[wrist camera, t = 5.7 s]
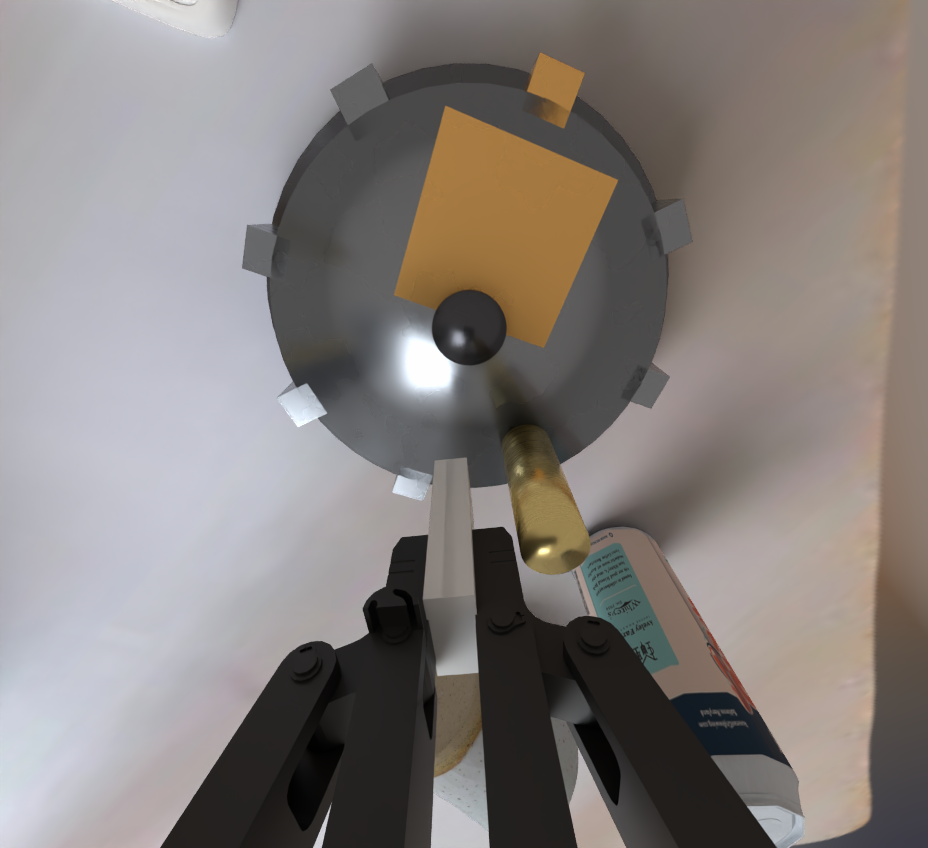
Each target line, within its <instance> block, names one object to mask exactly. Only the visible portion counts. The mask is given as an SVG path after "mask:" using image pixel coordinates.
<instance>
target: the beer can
mask: <svg viewBox="0 0 928 848" xmlns="http://www.w3.org/2000/svg"><path fill="white" fill-rule="evenodd" d="M590 541H591V549H590V552H589V555H588V557H587V558H586V559H585V561H584V562H583V563H582V564H581V565H579V566H578V567H577V568H575V569H573V570H571V571H572V573H573V576H574V578H575V580H576V581H577V584H578V587H579V590H580V593H581V596H582V599H583V602H584V606H585V609H586V612H587V615H588V616H594V617H599V618H602V619H604V620H606V621H608V622H610V623H612V624H613V625H614V626H615V627H616V628H617V629H618V630H619V631H620V633H621V634H622V635H623V637H624V638H625V640H626V641H627V642H628V644H629V645H630V646H631V648H632V649H633V650H634V652H635V653H636V655H637V656H638V657H639V659H640V660H641V661H642V663H643V664H644V666H645V667H646V668H647V670H648V671H649V672H650V674H651V675H652V677H653V678H654V679H655V681H656V682H657V683H658V685H659V686H660V688H661V689H662V690H663V692H664V693H665V694H666V696H667V697H668V699H669V700H670V701H671V703H672V704H673V705H674V707H675V708H676V710H677V711H678V712H679V714H680V715H681V716H682V718H683V719H684V720H685V722H686V723H687V725H688V726H689V727H690V729H691V730H692V731H693V733H694V734H695V736H696V737H697V738H698V740H699V741H700V742H701V744H702V745H703V747H704V748H705V749H706V751H707V752H708V753H709V755H710V756H711V758H712V759H713V760H714V762H715V763H716V764H717V766H718V767H719V769H720V770H721V771H722V773H723V774H724V775H725V777H726V778H727V780H728V781H729V782H730V784H731V785H732V786H733V788H734V789H735V790H736V792H737V793H738V795H739V796H740V797H741V799H742V800H743V801H744V803H745V804H746V806H747V807H748V808H749V810H750V811H751V812H752V814H753V815H754V817H755V818H756V819H757V821H758V822H759V823H760V825H761V826H762V828H763V829H764V830H765V832H766V833H767V834H768V836H769V837H770V839H771V840H772V841H773V843H774V844H775V845H776V847H777V848H789V847H790V846H792V845H793V844H795V843H796V842H797V841H799V840H800V839H801V838H803V837H804V823H805V817H804V816H803V813H802V810H801V805H800V799H799V792H798V784H799V781H798V778H797V776H796V774H795V772H794V771H793V769H792V767H791V765H790V764H789V762H788V760H787V759H786V757H785V755H784V754H783V752H782V750H781V749H780V747H779V746H778V744H777V742H776V741H775V739H774V737H773V736H772V734H771V732H770V731H769V729H768V727H767V726H766V724H765V722H764V721H763V719H762V717H761V716H760V714H759V712H758V711H757V709H756V707H755V706H754V704H753V702H752V701H751V699H750V697H749V696H748V694H747V692H746V691H745V689H744V687H743V686H742V684H741V682H740V681H739V679H738V677H737V676H736V674H735V672H734V671H733V669H732V667H731V666H730V664H729V662H728V661H727V659H726V658H725V656H724V654H723V653H722V651H721V649H720V648H719V646H718V644H717V643H716V641H715V639H714V638H713V636H712V634H711V633H710V631H709V629H708V628H707V626H706V624H705V623H704V621H703V619H702V618H701V616H700V614H699V613H698V611H697V609H696V608H695V606H694V604H693V603H692V601H691V599H690V598H689V596H688V594H687V593H686V591H685V589H684V588H683V586H682V584H681V583H680V581H679V579H678V578H677V576H676V574H675V573H674V571H673V569H672V568H671V566H670V565H669V563H668V561H667V560H666V558H665V556H664V555H663V553H662V551H661V550H660V548H659V546H658V545H657V543H656V541H655V540H654V539H653V538H652V537H651V536H650V535H648V534H647V533H645V532H643V531H641V530H638V529H636V528H630V527H614V528H607V529H604V530H601V531H598V532H597V533H595V534H593V535H591V536H590Z"/></svg>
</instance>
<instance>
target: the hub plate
mask: <svg viewBox="0 0 928 848" xmlns="http://www.w3.org/2000/svg"><path fill="white" fill-rule="evenodd" d="M528 77H529V73H526V72H524V71H521V70H518V69H512V68H506V67H501V66H495V65H490V64H449V65H442V66H436V67H429V68H423V69H420V70H417V71H414V72H411V73H408V74H405V75H402V76H399V77H396V78H393V79H390V80H388V81H387V82H385V83H384V86H385V88H386V90H387V92H388V95H389V97H390V99H393V98H395V97H397V96H401V95H404V94H407V93H410V92H413V91H416V90H419V89H422V88H426V87H432V86H439V85H446V84H453V83H489V84H495V85H500V86H506V87H511V88H517V89H521V90H524V89H525V86H526V83H527V80H528ZM571 112H573V113H575V114H577V115H578V116H579V117H581V118H582V119H583V120H584V121H586V122H587V123H588V124H590V125H591V126H592V127H593V128H595V129H596V130H597V131H599V132H600V133H601V134H602V135H603V136H604V137H605V138H606V139H607V140H608V141H609V142H610V143H611V144H612V146H613V147H614V148H615V149H616V150H617V151H618V152H619V153H620V154H621V155H622V156H623V158H624V159H625V161H626V162H627V164H628V165H629V167H630V168H631V169H632V171H633V172H634V174H635V175H636V177H637V178H638V180H639V181H640V183H641V185H642V187H643V189H644V191H645V193H646V195H647V198H648V200H649V202H650V204H652V203H654V202H656V198H655V195H654V192H653V189H652V187H651V185H650V183H649V181H648V179H647V177H646V175H645V173H644V171H643V169H642V167H641V165H640V163H639V161H638V160H637V158H636V157H635V155H634V154H633V153H632V151H631V150H630V148H629V147H628V145H627V144H626V142H625V141H624V140H623V138H622V137H621V136H620V135H619V134H618V133H617V132H616V130H615V129H614V128H613V127H612V126H611V125H610V124H609V123H608V122H607V121H606V120H605V119H604V118H603V117H602V116H601V115H600V114H599V113H598V112H596V111H595V110H594V109H593V108H591V107H590V106H589V105H588V104H586V103H585V102H584V101H582V100H581V99H580V98H579V97H577V96H576V98H575V101H574V104H573V106H572V109H571ZM346 126H348V125H347V123H346V121H345V119H344V117H343V115H342V113H341V111H339V112H338V113H337V114H336V115H335V116H334V117H333V118H332V119H331V120H330V121H329V122H328V123H327V124H326V125H325V126H324V127H323V128H322V129H321V130H320V131H319V132H318V133H317V134H316V136H315V137H314V138H313V140H312V141H311V143H310V144H309V145H308V147H307V148H306V149H305V151H304V152H303V154H302V155H301V156H300V158H299V159H298V161H297V163H296V165H295V167H294V168H293V170H292V172H291V174H290V176H289V178H288V180H287V182H286V184H285V186H284V188H283V191H282V194H281V196H280V199H279V202H278V205H277V208H276V211H275V214H274V217H273V222H272V224H273V225H276V226H279V225H280V222H281V219H282V217H283V214H284V211H285V209H286V206H287V203H288V201H289V199H290V197H291V195H292V193H293V192H294V190H295V188H296V186H297V184H298V182H299V180H300V179H301V177H302V175H303V174H304V172H305V171H306V170H307V168H308V167H309V166H310V164H311V163H312V162H313V160H314V159H315V158H316V156H317V155H318V154H319V152H320V151H321V150H322V149H323V148H324V147H325V146H326V145H327V144H328V143H329V142H330V141H331V140H332V139H333V138H334V137H335V136H336V135H337V134H338V133H339V132H340V131H341V130H342V129H344V128H345V127H346ZM665 260H666V278H667V285H668V255H667V254H665ZM267 292H268V302H269V307H270V313H271V318H272V323H273V317H272V312H271V296H270V277H267ZM666 297H667V293H666ZM273 327H274V323H273ZM274 330H275V328H274Z"/></svg>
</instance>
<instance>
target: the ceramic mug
mask: <svg viewBox="0 0 928 848" xmlns="http://www.w3.org/2000/svg"><path fill="white" fill-rule="evenodd" d="M435 686H436V692H437V721H436V742H435V764H434V786H433V793H435V794H436V795H438V796H439V797H441V798H442V799H444V800H446V801H447V802H449V803H450V804H452V805H453V806H455V807H456V808H458V809H459V810H460V811H462V812H463V813H464V814H466V815H467V816H468V817H470V818H471V819H472V820H474V821H475V822H476V823H478V824H479V825H480V826H482V827H483V828H485V829H486V830H487V831H489V828H488V812H487V797H486V781H485V766H484V750H483V735H482V719H481V704H480V688H479V673H470V674H458V675H444V676H437V671H436V673H435ZM551 722H552V727H553V731H554V736H555V741H556V746H557V751H558V756H559V761H560V765H561V770H562V775H563V780H564V785H565V790H566V795H567V799H568V804H569V803H570V801H571V798H572V795H573V791H574V788H575V784H576V779H577V773H578V747H577V744H576V742H575V739H574V737H573V735H572V733H571V731H570V729H569V727H568V725H567V723H566V721H563V720H560V719H556V718H552V717H551Z"/></svg>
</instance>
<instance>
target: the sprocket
mask: <svg viewBox="0 0 928 848" xmlns="http://www.w3.org/2000/svg"><path fill="white" fill-rule="evenodd" d="M584 75H585V73H583V72H581V71H579V70H577V69H575V68H573V67H571V66H568V65H566V64H564V63H562V62H560V61H558V60H556V59H553V58H551V57H549V56H547V55H545V54H543V53H541V52H540V54H539V56H538V58H537V60H536V62H535V64H534V66H533V68H532V70H531V72H530V74H529V77H528V80H527V83H526V86H525V89H524V90H521V89H517V88H511V87H506V86H500V85H495V84H489V83H453V84H446V85H439V86H432V87H426V88H422V89H419V90H416V91H413V92H410V93H407V94H404V95H401V96H397V97H395V98H393V99H390V97H389V95H388V92H387V90H386V88H385V86H384V83H383V82H382V80H381V78H380V76H379V75H378V73H377V71H376V69H375V68H374V66H373V64H370V65H369V66H367V67H365V68H364V69H362V70H361V71H359V72H358V73H356V74H354V75H353V76H351V77H350V78H348V79H346V80H345V81H343V82H342V83H340V84H339V85H337V86H335V87H334V88H332V89H331V92H332V94H333V96H334V98H335V100H336V102H337V104H338V106H339V108H340V110H341V113H342V115H343V117H344V119H345V121H346V123H347V125H348V126H346V127H345V128H344V129H342V130H341V131H340V132H339V133H338V134H337V135H336V136H335V137H334V138H333V139H332V140H331V141H330V142H329V143H328V144H327V145H326V146H325V147H324V148H323V149H322V150H321V151H320V152H319V154H318V155H317V156H316V158H315V159H314V160H313V162H312V163H311V164H310V166H309V167H308V168H307V170H306V171H305V172H304V174H303V175H302V177H301V179H300V180H299V182H298V184H297V186H296V188H295V190H294V192H293V193H292V195H291V197H290V199H289V201H288V203H287V206H286V209H285V211H284V214H283V217H282V219H281V222H280V225H279V226H276V225H273V224H259V225H247V231H246V239H245V248H244V256H243V265H242V268H243V269H246V270H249V271H252V272H255V273H258V274H261V275H264V276H267V277H270V296H271V312H272V317H273V323H274V328H275V334H276V338H277V341H278V344H279V347H280V351H281V354H282V357H283V360H284V362H285V365H286V367H287V369H288V371H289V373H290V376H291V378H292V380H293V382H292V383H291V384H290V385H289V386H288V387H287V388H286V389H285V390H284V391H283V392H282V393H281V394H280V395H279V396H278V397H277V399H278V400H279V402H280V403H281V405H282V406H283V407H284V409H285V410H286V411H287V413H288V414H289V416H290V417H291V418H292V420H293V421H294V422H295V424H296V425H297V427H299V426H301V425H303V424H306V423H308V422H310V421H312V420H314V419H316V418H318V419H319V420H320V421H321V422H322V423H323V424H324V425H325V426H326V427H327V428H328V429H329V430H330V431H331V432H332V433H333V434H334V435H335V436H336V437H337V438H338V439H339V440H340V441H341V442H343V443H344V444H345V445H346V446H348V447H349V448H350V449H351V450H353V451H354V452H355V453H357V454H359V455H360V456H362V457H363V458H365V459H367V460H368V461H370V462H371V463H373V464H375V465H377V466H379V467H381V468H383V469H385V470H387V471H390V472H392V473H394V474H397V475H396V479H395V483H394V488H393V493H396V494H400V495H403V496H407V497H411V498H414V499H418V500H421V501H423V500H424V498H425V495H426V492H427V490H428V487H429V485H430V484H432V485H433V475H434V463H435V460H445V459H456V458H466V457H467V465H468V473H469V482H470V488H478V487H488V486H497V485H502V484H507V483H508V486H509V491H510V497H511V502H512V508H513V514H514V519H515V525H516V530H517V536H518V541H519V547H520V552H521V557H522V559H523V561H524V562H525V564H526V565H527V566H528V567H530V568H531V569H533V570H534V571H536V572H539V573H543V574H550V575H554V574H562V573H566V572H569V571H571V570H573V569H575V568H577V567H578V566H579V565H581V564H582V563H583V562H584V561H585V559H586V558H587V557H588V555H589V552H590V549H591V541H590V537H589V535H588V532H587V530H586V527H585V525H584V522H583V520H582V517H581V515H580V512H579V510H578V507H577V505H576V502H575V500H574V498H573V495H572V493H571V490H570V488H569V485H568V483H567V480H566V478H565V475H564V473H563V470H562V468H561V465H560V464H561V463H563V462H565V461H566V460H568V459H570V458H571V457H573V456H575V455H576V454H578V453H579V452H581V451H582V450H583V449H585V448H586V447H587V446H588V445H590V444H591V443H592V442H594V441H595V440H596V439H597V438H598V437H599V436H600V435H601V434H602V433H603V432H604V431H605V430H607V429H608V428H609V427H610V426H611V425H612V424H613V422H614V421H615V420H616V419H617V418H618V416H619V415H620V414H621V413H622V412H623V410H624V409H625V408H626V407H627V405H628V404H629V402H630V401H631V402H634V403H637V404H640V405H643V406H645V407H648V408H652V406H653V405H654V403H655V401H656V400H657V398H658V396H659V395H660V393H661V391H662V390H663V388H664V386H665V385H666V383H667V381H668V380H669V378H670V376H668V375H667V374H666V373H664V372H663V371H662V370H661V369H659V368H658V367H657V366H655V365H654V364H653V363H651V362H652V359H653V356H654V354H655V351H656V348H657V345H658V342H659V339H660V334H661V330H662V325H663V320H664V316H665V305H666V293H667V278H666V260H665V254H667V253H669V252H672V251H674V250H676V249H678V248H680V247H682V246H684V245H686V244H689V243H691V242H693V241H692V236H691V232H690V227H689V223H688V218H687V214H686V209H685V205H684V200H683V199H672V200H660V201H656V202H654V203H652V204H650V202H649V200H648V198H647V195H646V193H645V191H644V189H643V187H642V185H641V183H640V181H639V180H638V178H637V177H636V175H635V174H634V172H633V171H632V169H631V168H630V167H629V165H628V164H627V162H626V161H625V159H624V158H623V156H622V155H621V154H620V153H619V152H618V151H617V150H616V149H615V148H614V147H613V146H612V144H611V143H610V142H609V141H608V140H607V139H606V138H605V137H604V136H603V135H602V134H601V133H600V132H599V131H597V130H596V129H595V128H593V127H592V126H591V125H590V124H588V123H587V122H586V121H584V120H583V119H582V118H581V117H579V116H578V115H577V114H575V113H573V112H571V109H572V106H573V104H574V101H575V98H576V96H577V93H578V90H579V88H580V85H581V82H582V80H583V77H584Z"/></svg>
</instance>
